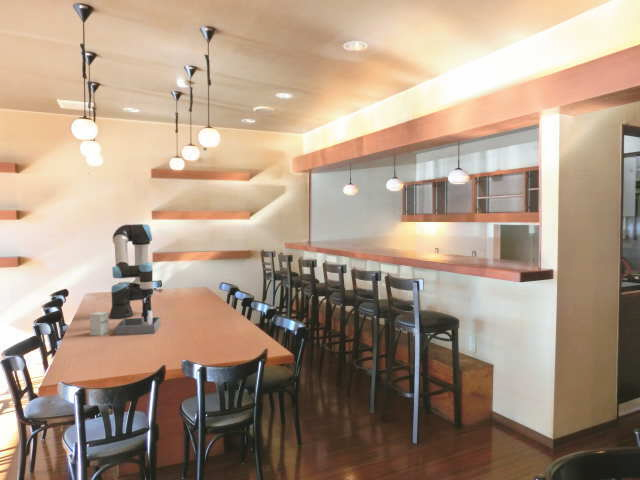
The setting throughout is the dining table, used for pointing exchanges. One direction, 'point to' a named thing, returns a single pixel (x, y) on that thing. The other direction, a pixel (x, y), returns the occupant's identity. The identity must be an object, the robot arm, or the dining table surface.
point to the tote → (136, 326)
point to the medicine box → (149, 317)
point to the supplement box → (99, 323)
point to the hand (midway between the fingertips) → (147, 324)
